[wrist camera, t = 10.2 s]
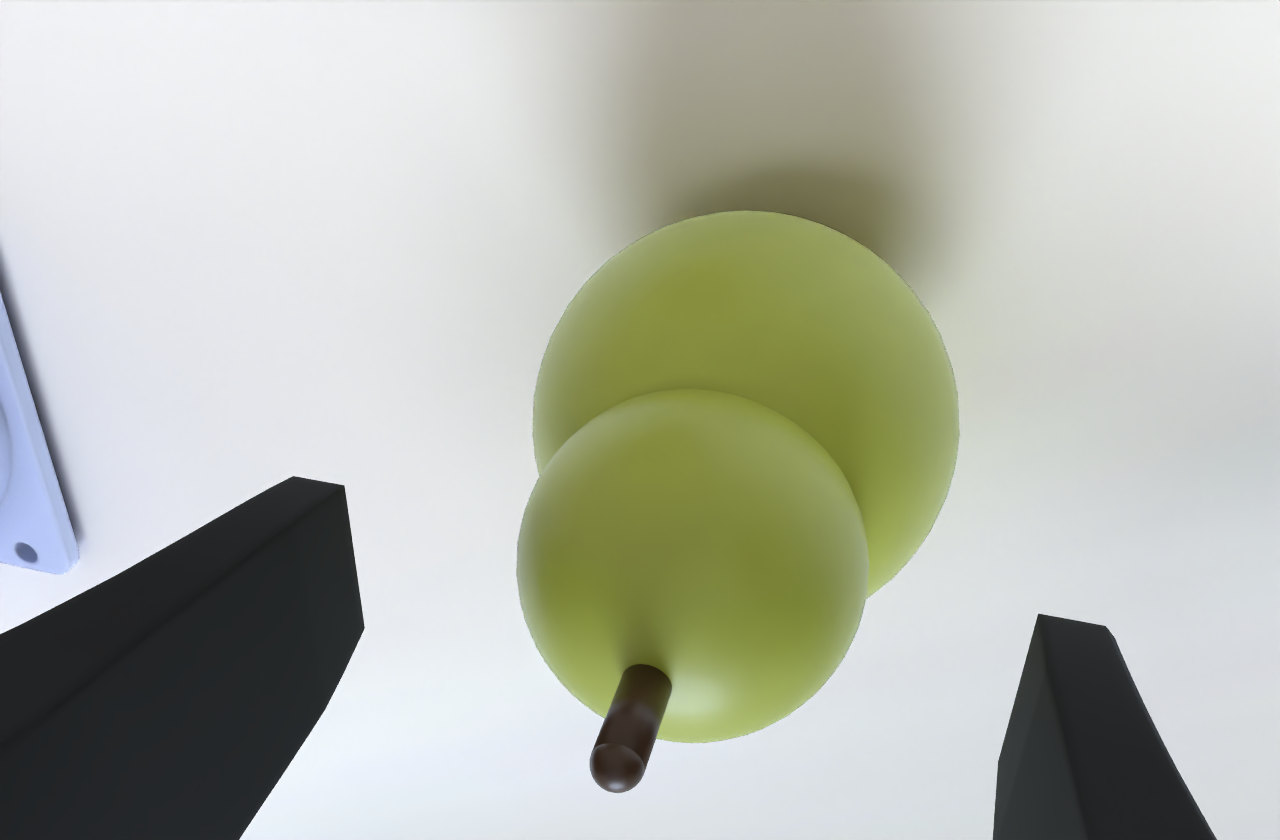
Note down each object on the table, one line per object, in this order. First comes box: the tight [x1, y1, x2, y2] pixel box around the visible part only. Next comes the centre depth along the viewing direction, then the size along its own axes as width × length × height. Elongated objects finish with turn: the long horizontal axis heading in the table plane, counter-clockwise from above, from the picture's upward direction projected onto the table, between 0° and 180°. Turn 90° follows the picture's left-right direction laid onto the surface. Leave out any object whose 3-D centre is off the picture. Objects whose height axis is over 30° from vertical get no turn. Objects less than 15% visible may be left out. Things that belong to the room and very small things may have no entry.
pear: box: [517, 210, 960, 793], centre depth 14 cm, size 5×5×9 cm
